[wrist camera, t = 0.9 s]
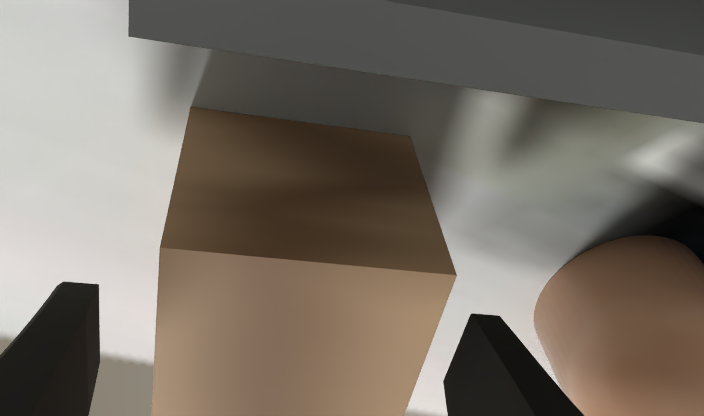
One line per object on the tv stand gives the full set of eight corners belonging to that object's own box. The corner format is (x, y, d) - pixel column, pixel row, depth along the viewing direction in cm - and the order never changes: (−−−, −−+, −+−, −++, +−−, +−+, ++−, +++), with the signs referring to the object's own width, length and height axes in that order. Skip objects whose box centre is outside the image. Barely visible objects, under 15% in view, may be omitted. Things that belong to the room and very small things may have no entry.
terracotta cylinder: (736, 244, 19) (939, 469, 13) (655, 366, 21) (794, 595, 16) (572, 226, 18) (714, 460, 12) (510, 356, 20) (601, 596, 15)
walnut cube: (408, 134, 16) (456, 275, 12) (364, 292, 18) (390, 450, 14) (190, 105, 15) (159, 248, 11) (178, 276, 17) (150, 441, 13)
